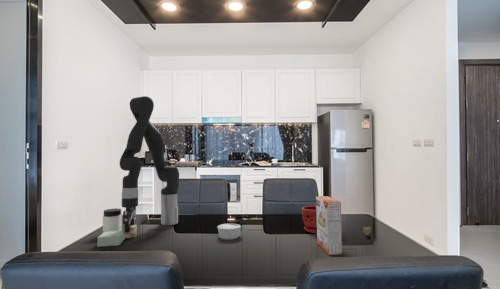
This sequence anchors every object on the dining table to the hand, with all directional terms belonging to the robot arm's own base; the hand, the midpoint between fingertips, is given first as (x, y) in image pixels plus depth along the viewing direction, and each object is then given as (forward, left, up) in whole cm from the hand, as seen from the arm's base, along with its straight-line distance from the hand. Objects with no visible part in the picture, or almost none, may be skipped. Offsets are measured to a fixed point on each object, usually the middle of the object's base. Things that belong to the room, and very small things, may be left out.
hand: (129, 229), depth 139 cm
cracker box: (-87, +37, -4) cm, 95 cm away
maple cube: (0, 0, -3) cm, 3 cm away
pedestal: (+6, +9, -3) cm, 11 cm away
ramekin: (-48, +11, -4) cm, 50 cm away
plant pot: (-92, +10, -4) cm, 93 cm away
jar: (+10, -8, -3) cm, 13 cm away
